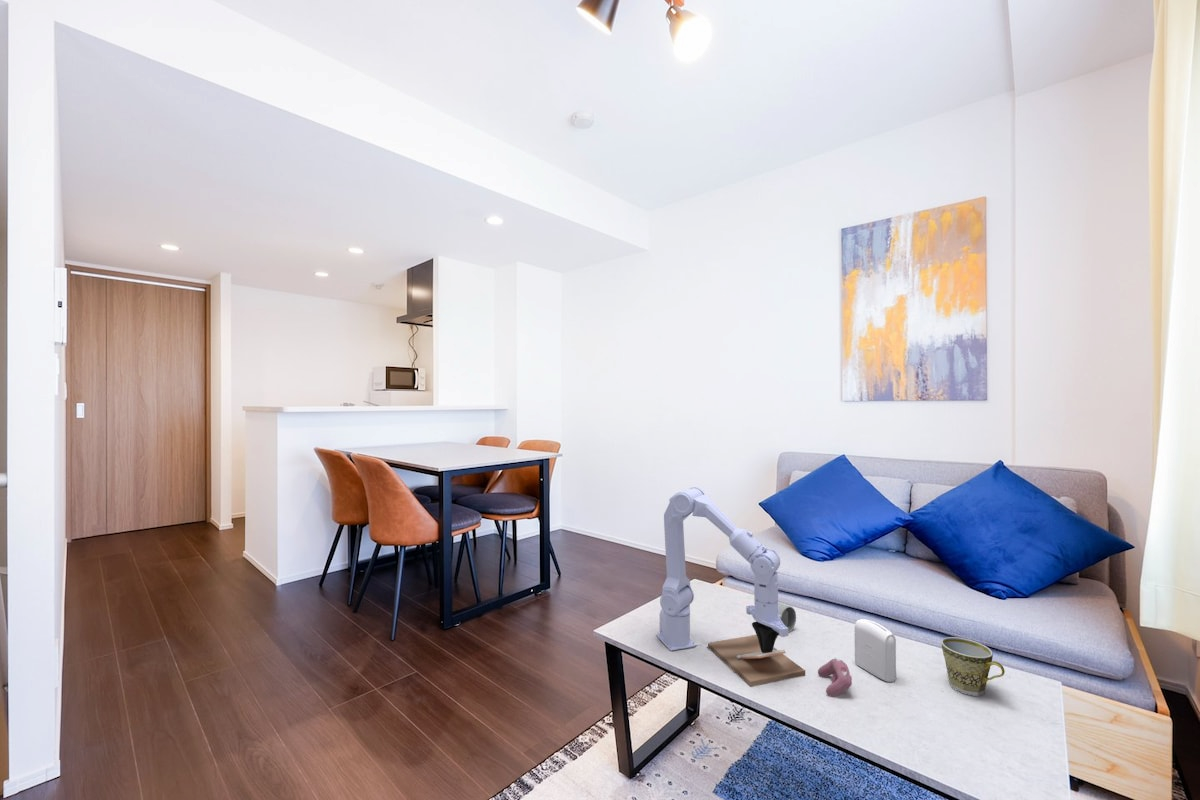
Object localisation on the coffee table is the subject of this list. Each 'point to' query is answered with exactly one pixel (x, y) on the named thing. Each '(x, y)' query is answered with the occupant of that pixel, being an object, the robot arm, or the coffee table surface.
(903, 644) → the coffee table surface
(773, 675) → the board
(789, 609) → the ceramic mug
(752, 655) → the hinged panel
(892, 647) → the photo printer
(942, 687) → the coffee table surface
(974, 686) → the ceramic cup
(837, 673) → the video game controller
